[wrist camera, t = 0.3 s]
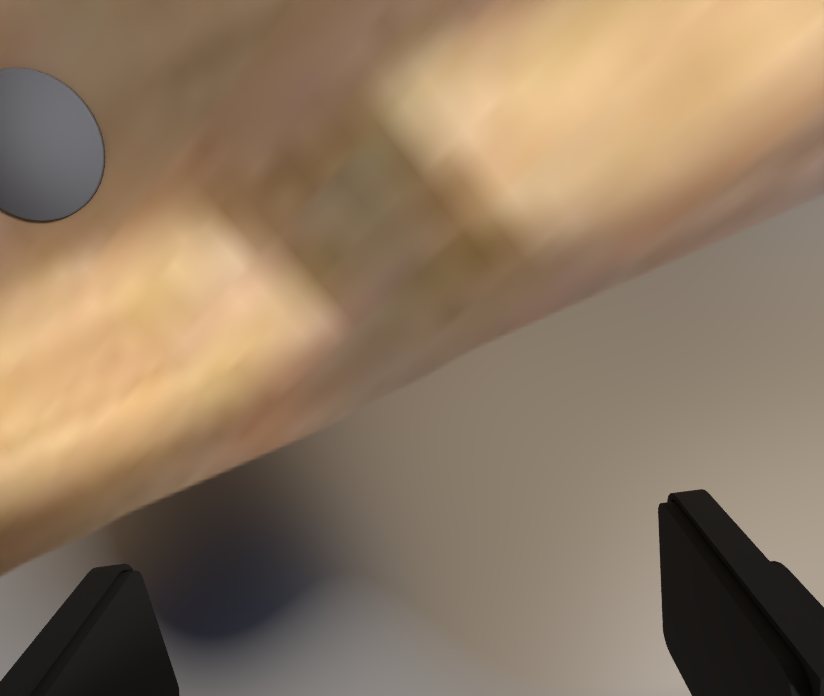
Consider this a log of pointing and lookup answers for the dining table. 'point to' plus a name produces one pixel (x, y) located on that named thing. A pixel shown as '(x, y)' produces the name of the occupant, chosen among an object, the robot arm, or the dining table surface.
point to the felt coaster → (46, 147)
